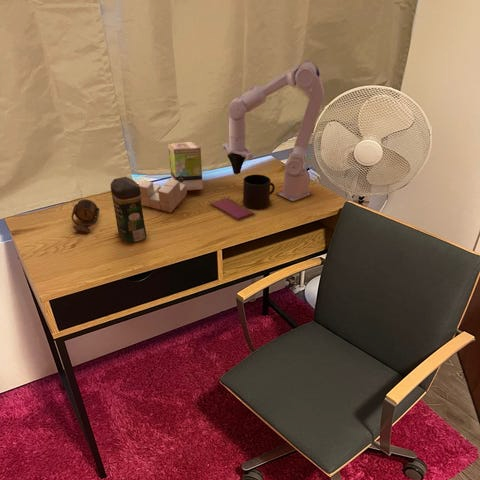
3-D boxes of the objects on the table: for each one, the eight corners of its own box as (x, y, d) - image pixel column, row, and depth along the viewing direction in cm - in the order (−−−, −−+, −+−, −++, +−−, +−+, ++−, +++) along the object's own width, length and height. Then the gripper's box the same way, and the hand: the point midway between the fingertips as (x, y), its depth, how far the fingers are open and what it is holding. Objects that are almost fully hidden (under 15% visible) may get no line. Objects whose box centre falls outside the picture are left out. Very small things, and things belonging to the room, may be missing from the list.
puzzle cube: (187, 193, 172) (184, 174, 165) (170, 213, 165) (167, 193, 158) (158, 186, 175) (155, 167, 169) (141, 204, 168) (137, 185, 162)
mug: (280, 205, 170) (282, 181, 165) (250, 211, 166) (251, 187, 160) (267, 195, 177) (268, 171, 171) (238, 200, 173) (238, 176, 167)
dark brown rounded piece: (108, 203, 157) (82, 192, 158) (86, 216, 147) (58, 205, 148) (107, 222, 162) (81, 212, 163) (85, 237, 152) (58, 225, 153)
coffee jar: (115, 233, 153) (105, 177, 141) (138, 227, 156) (131, 172, 144) (125, 246, 146) (116, 189, 135) (149, 240, 150) (143, 184, 138)
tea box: (203, 189, 174) (201, 146, 167) (176, 191, 172) (172, 148, 164) (196, 180, 187) (193, 140, 179) (171, 182, 184) (167, 142, 177)
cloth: (226, 199, 173) (226, 197, 173) (253, 214, 165) (253, 212, 164) (211, 205, 170) (211, 203, 169) (238, 220, 161) (238, 218, 161)
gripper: (215, 132, 169) (216, 169, 178) (242, 143, 161) (241, 182, 169) (230, 128, 173) (230, 165, 182) (257, 139, 164) (256, 177, 173)
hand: (236, 173), depth 176 cm, fingers closed
